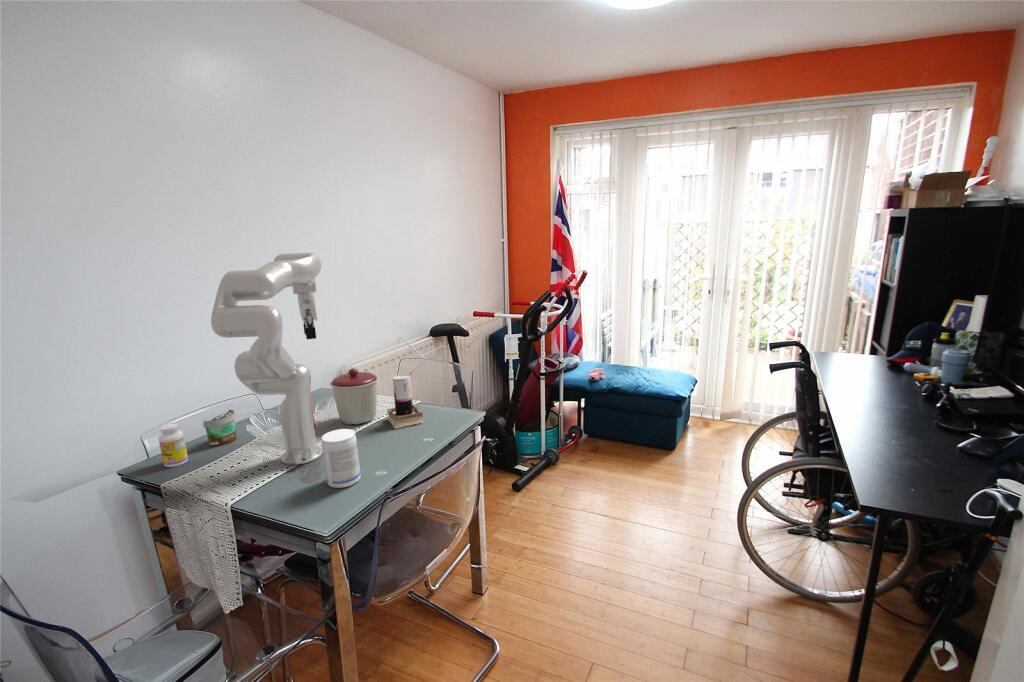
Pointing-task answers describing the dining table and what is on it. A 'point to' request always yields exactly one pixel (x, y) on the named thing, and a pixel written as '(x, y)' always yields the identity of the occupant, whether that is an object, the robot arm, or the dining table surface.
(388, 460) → the dining table surface
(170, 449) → the supplement bottle
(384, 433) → the dining table surface
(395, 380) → the beverage can
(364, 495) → the dining table surface
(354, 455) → the supplement tub
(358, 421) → the canister
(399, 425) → the wooden tray
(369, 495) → the dining table surface
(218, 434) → the food container
